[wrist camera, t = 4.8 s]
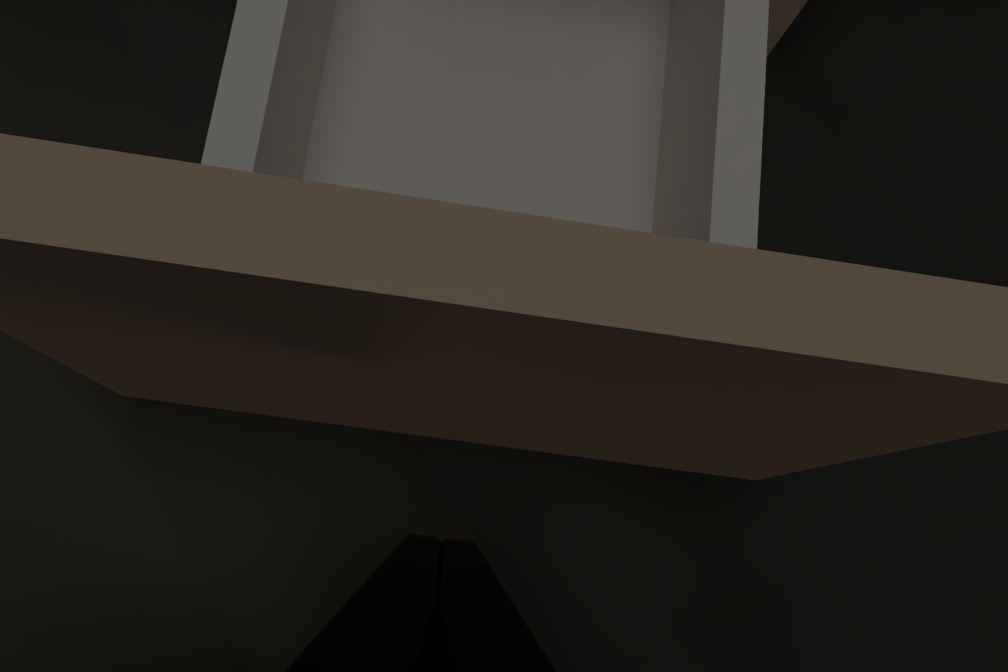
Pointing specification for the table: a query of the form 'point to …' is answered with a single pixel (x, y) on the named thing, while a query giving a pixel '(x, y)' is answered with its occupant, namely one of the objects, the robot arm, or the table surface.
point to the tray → (491, 248)
